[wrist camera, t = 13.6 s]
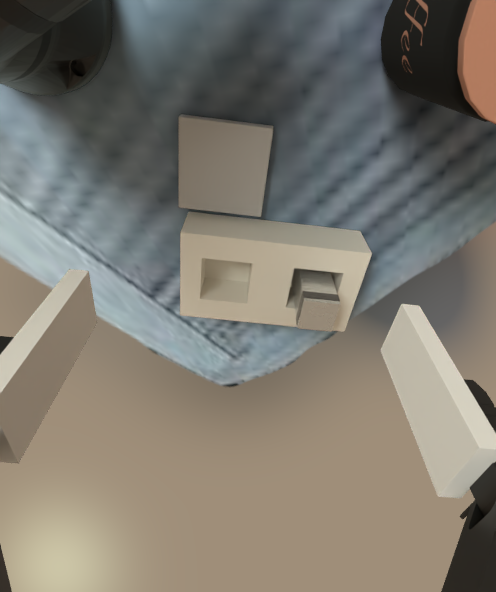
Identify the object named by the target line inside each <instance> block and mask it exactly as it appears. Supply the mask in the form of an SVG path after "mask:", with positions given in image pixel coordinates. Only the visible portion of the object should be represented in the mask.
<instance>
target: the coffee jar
mask: <svg viewBox="0 0 496 592" xmlns="http://www.w3.org/2000/svg"><path fill="white" fill-rule="evenodd" d="M381 49H382V60H383V63H384V66H385V68H386V71H387V73H388V76H389V77H390V78H391V80H392V81H393V82H394V83H395V84H396V85H397V86H398V87H399V88H400V89H402V90H404V91H406V92H408V93H410V94H413V95H415V96H418V97H420V98H423V99H426V100H429V101H431V102H434V103H437V104H439V105H442V106H445V107H447V108H450V109H453V110H455V111H458V112H461V113H464V114H466V115H469V116H472V117H474V118H477V119H480V120H482V121H489V122H492V123H494V124H496V0H393V2H392V4H391V6H390V8H389V10H388V12H387V14H386V17H385V22H384V26H383V31H382V36H381Z"/></svg>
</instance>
